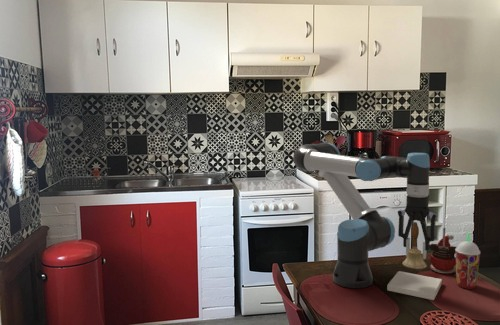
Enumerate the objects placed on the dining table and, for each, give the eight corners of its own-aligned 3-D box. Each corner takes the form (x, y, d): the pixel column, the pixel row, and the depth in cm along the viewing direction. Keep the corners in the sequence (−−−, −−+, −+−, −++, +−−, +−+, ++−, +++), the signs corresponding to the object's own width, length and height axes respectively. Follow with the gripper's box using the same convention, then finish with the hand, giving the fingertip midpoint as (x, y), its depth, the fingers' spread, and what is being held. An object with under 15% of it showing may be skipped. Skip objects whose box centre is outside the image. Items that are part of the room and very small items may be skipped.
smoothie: (482, 291, 153) (484, 237, 151) (457, 289, 155) (459, 236, 152) (474, 282, 161) (477, 231, 159) (451, 280, 163) (453, 230, 160)
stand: (387, 290, 155) (387, 285, 155) (398, 275, 169) (398, 271, 168) (433, 300, 147) (433, 294, 146) (441, 284, 160) (441, 279, 160)
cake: (427, 272, 172) (428, 229, 170) (430, 264, 180) (432, 223, 178) (455, 276, 167) (457, 232, 164) (458, 269, 174) (460, 227, 172)
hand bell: (408, 269, 150) (409, 225, 148) (398, 261, 158) (399, 219, 156) (431, 268, 150) (432, 225, 148) (420, 260, 159) (421, 219, 157)
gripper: (389, 194, 155) (388, 255, 158) (442, 199, 145) (440, 264, 148) (394, 191, 162) (393, 250, 164) (446, 195, 152) (444, 258, 154)
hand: (415, 256), depth 156 cm, fingers closed on hand bell, 5 cm apart
